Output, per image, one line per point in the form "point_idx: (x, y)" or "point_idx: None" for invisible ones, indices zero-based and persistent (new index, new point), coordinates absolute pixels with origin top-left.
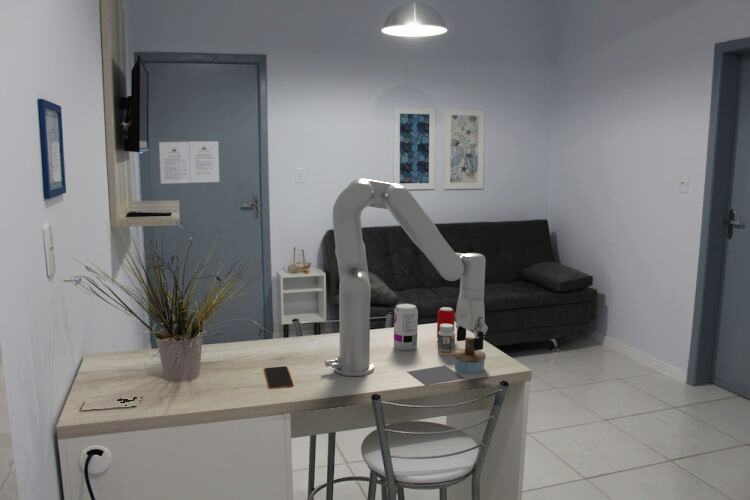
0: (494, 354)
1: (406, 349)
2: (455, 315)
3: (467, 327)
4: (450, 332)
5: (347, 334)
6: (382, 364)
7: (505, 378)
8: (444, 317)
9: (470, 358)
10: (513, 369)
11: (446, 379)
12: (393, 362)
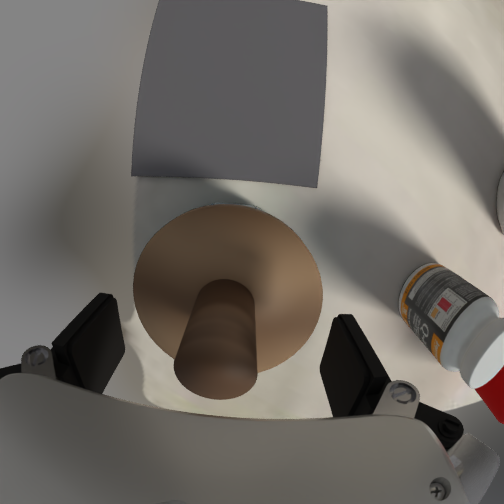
0: (305, 415)
1: (501, 179)
2: (483, 456)
3: (55, 406)
4: (458, 351)
5: None
6: (430, 16)
7: None
8: None
9: (154, 261)
10: (161, 389)
11: (159, 89)
12: (438, 52)
